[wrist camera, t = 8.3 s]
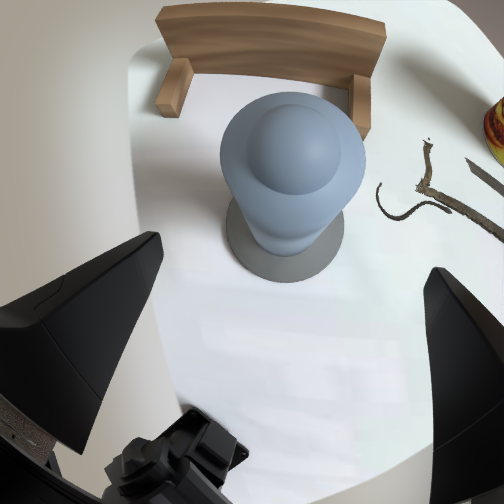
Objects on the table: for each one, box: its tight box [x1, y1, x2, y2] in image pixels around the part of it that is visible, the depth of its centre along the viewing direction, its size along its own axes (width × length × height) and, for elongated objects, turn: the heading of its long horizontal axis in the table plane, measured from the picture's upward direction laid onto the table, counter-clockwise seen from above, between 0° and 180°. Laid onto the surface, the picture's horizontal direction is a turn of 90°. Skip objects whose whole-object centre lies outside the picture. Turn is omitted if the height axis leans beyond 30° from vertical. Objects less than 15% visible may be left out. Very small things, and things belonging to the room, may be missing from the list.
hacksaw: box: [376, 138, 504, 243], centre depth 21 cm, size 24×10×2 cm, turn 63°
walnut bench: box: [155, 2, 387, 141], centre depth 21 cm, size 8×18×8 cm, turn 80°
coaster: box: [226, 196, 344, 283], centre depth 23 cm, size 9×9×1 cm
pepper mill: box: [220, 92, 366, 257], centre depth 15 cm, size 5×5×15 cm
